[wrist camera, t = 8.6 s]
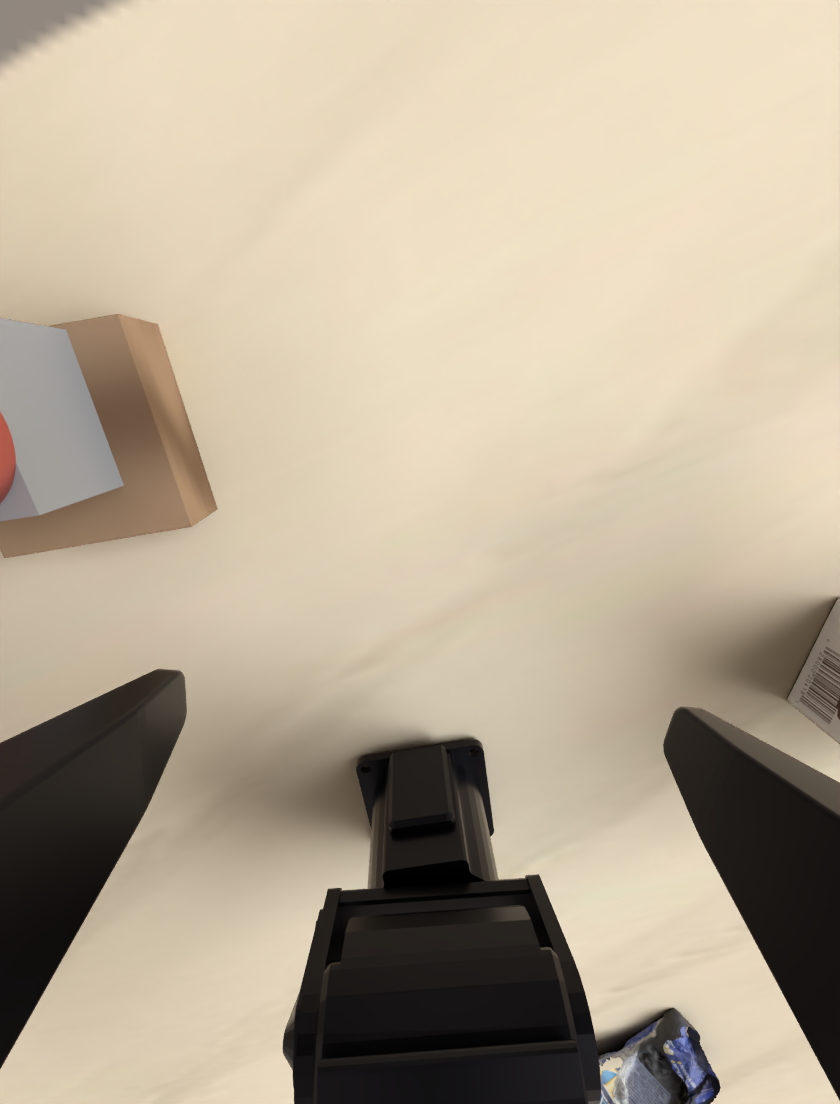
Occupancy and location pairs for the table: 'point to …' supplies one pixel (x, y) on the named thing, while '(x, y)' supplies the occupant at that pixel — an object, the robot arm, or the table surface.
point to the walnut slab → (126, 445)
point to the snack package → (660, 1067)
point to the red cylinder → (6, 459)
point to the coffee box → (822, 679)
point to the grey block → (49, 423)
